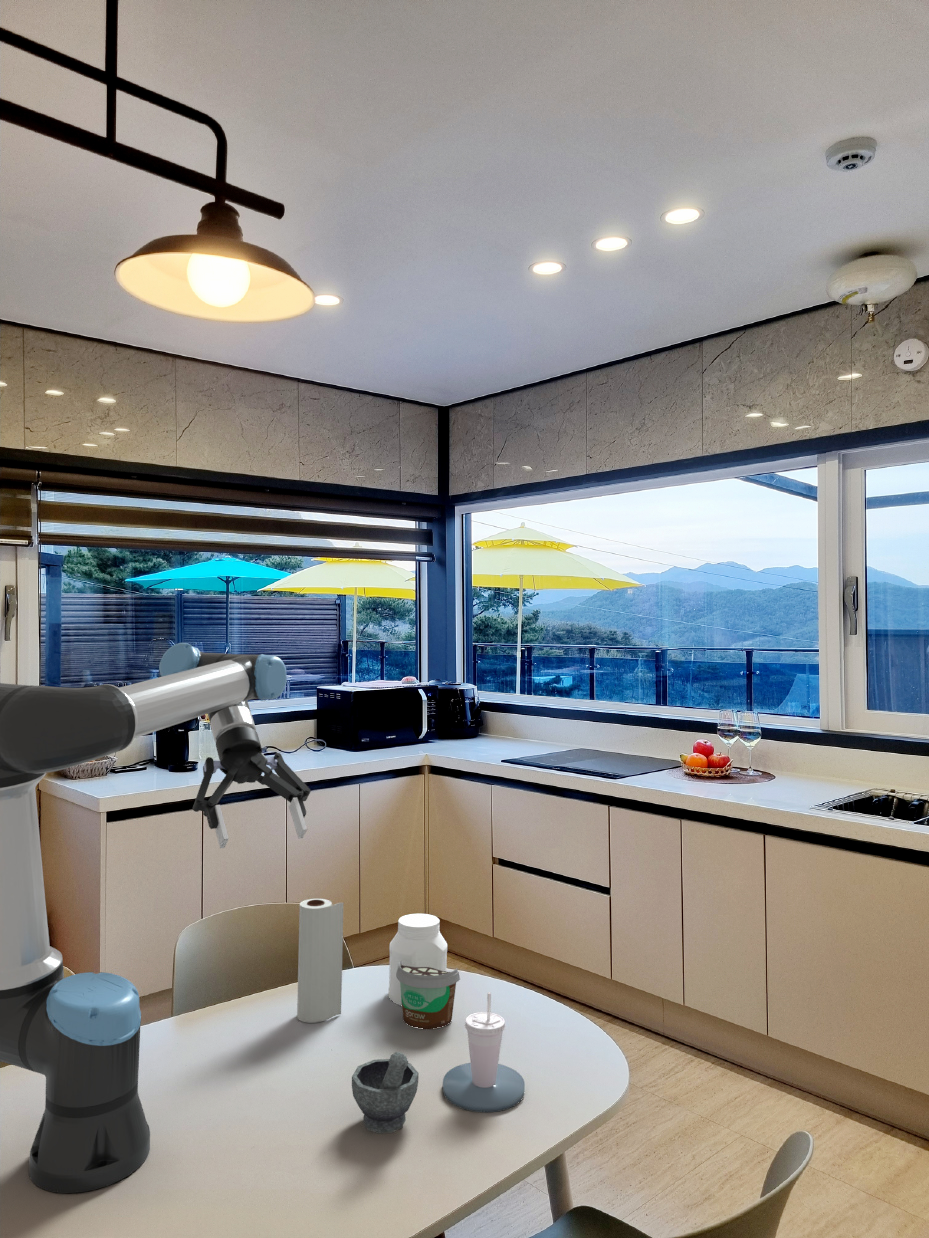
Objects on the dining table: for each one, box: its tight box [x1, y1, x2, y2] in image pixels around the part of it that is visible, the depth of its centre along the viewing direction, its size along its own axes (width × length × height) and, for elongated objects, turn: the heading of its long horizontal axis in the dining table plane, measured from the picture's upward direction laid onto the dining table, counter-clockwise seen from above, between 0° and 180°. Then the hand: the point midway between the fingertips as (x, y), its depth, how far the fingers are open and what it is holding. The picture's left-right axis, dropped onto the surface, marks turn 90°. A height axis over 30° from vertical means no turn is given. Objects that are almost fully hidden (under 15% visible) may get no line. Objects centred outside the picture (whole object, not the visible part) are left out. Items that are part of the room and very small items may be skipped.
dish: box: [442, 1062, 526, 1113], centre depth 139 cm, size 13×13×1 cm
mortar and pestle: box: [351, 1051, 419, 1134], centre depth 129 cm, size 11×9×12 cm
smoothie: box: [464, 992, 506, 1088], centre depth 139 cm, size 6×6×14 cm
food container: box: [396, 961, 461, 1030], centre depth 161 cm, size 12×6×10 cm, turn 73°
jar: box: [387, 913, 448, 1006], centre depth 174 cm, size 12×10×15 cm
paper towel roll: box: [296, 898, 344, 1024], centre depth 163 cm, size 7×6×21 cm
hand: (264, 838), depth 145 cm, fingers open, 13 cm apart
